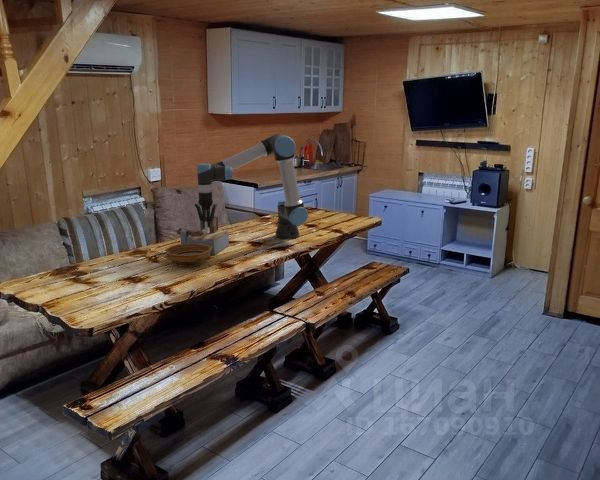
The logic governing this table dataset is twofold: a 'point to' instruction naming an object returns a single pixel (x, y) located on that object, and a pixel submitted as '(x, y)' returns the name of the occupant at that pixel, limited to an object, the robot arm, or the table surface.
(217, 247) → the toolbox
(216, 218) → the small box
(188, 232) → the latch
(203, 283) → the table surface
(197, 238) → the board with wooden block
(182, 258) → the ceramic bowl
